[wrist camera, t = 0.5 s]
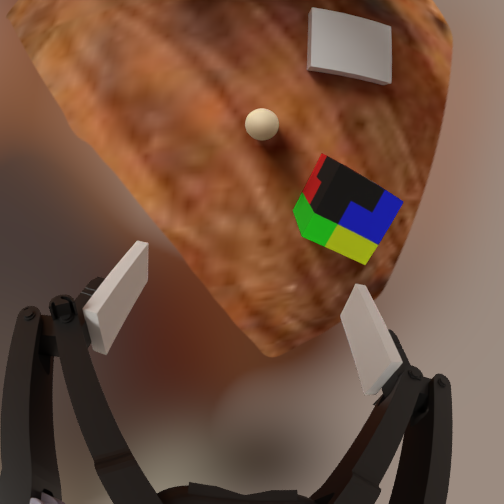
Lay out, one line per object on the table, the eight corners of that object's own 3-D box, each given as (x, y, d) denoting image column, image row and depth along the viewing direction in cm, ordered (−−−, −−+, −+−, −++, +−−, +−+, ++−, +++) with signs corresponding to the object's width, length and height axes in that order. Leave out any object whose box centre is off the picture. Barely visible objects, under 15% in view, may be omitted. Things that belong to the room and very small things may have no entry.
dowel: (249, 111, 35) (245, 107, 26) (274, 113, 35) (279, 109, 26) (248, 135, 37) (244, 139, 28) (273, 136, 37) (277, 141, 28)
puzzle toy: (374, 183, 39) (403, 201, 30) (345, 235, 43) (365, 265, 34) (321, 153, 37) (340, 163, 29) (292, 210, 42) (301, 236, 33)
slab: (307, 15, 27) (311, 7, 24) (381, 31, 27) (390, 26, 24) (306, 70, 32) (310, 66, 29) (381, 85, 32) (391, 83, 29)
